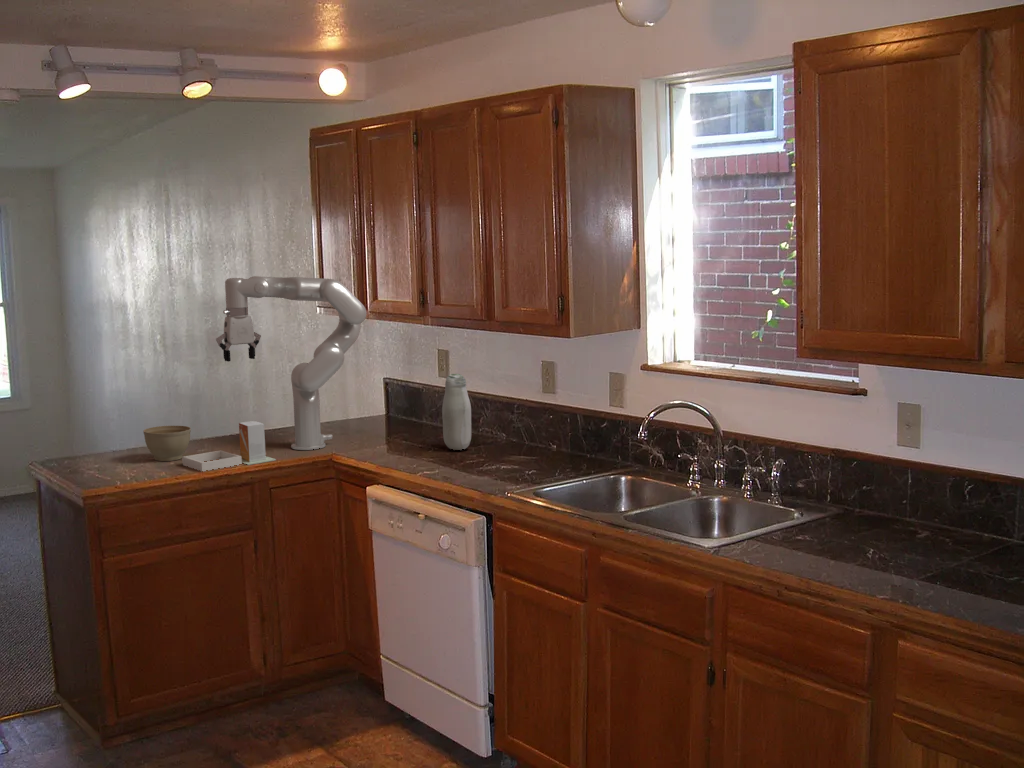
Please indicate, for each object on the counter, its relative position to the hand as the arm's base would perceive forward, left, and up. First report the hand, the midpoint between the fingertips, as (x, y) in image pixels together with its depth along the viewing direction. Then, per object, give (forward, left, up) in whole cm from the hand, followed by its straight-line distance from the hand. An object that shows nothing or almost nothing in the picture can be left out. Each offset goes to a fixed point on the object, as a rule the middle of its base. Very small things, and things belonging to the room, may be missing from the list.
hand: (239, 359), depth 389 cm
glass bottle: (-57, +53, -34) cm, 85 cm away
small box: (+4, +14, -34) cm, 37 cm away
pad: (+4, +14, -34) cm, 37 cm away
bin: (+18, +10, -34) cm, 40 cm away
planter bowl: (+24, -11, -34) cm, 43 cm away
